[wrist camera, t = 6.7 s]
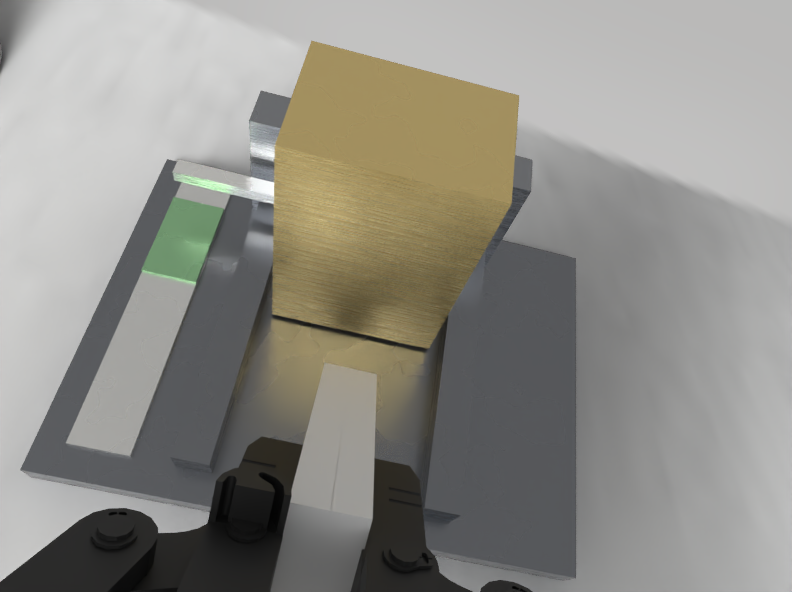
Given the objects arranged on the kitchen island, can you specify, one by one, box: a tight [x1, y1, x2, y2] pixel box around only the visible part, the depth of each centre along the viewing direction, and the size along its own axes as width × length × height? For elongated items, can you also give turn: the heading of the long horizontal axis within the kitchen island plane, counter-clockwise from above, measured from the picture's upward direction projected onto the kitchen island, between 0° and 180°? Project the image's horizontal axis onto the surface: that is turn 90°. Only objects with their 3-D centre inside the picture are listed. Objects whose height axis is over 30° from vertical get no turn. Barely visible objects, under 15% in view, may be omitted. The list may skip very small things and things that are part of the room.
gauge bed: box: [21, 91, 576, 580], centre depth 21 cm, size 18×13×6 cm
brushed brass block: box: [173, 41, 519, 349], centre depth 19 cm, size 10×4×9 cm, turn 82°
